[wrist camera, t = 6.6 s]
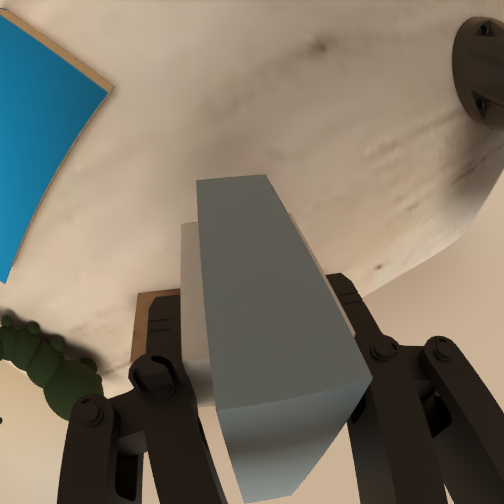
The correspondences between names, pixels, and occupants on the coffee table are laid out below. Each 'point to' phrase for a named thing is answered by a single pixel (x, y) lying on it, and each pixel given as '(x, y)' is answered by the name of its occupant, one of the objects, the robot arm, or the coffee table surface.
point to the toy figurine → (49, 367)
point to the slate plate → (271, 339)
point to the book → (36, 123)
